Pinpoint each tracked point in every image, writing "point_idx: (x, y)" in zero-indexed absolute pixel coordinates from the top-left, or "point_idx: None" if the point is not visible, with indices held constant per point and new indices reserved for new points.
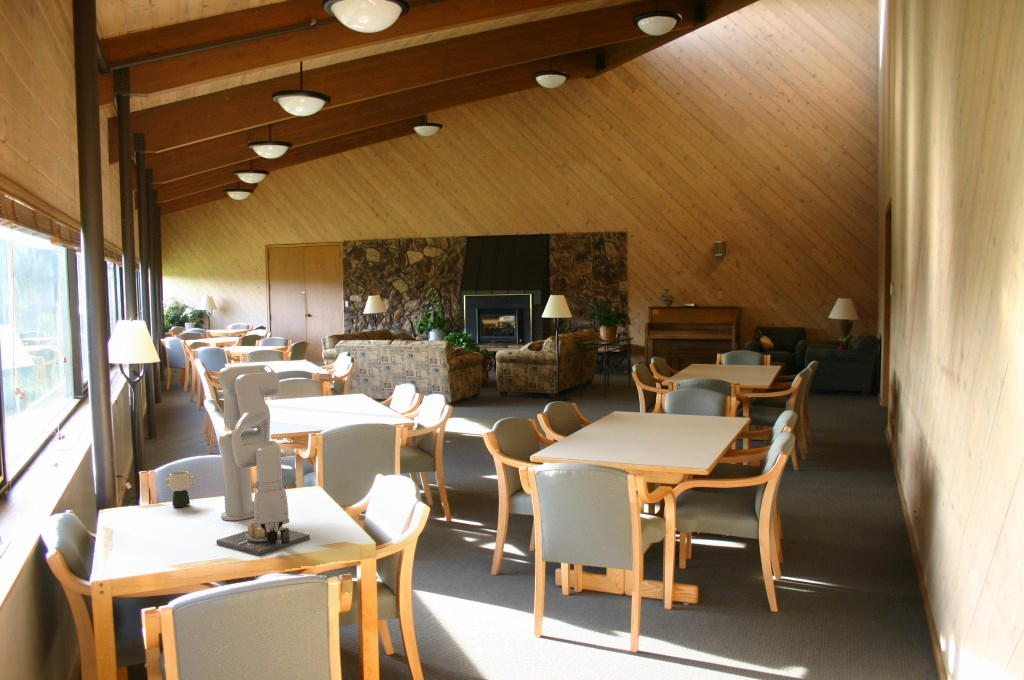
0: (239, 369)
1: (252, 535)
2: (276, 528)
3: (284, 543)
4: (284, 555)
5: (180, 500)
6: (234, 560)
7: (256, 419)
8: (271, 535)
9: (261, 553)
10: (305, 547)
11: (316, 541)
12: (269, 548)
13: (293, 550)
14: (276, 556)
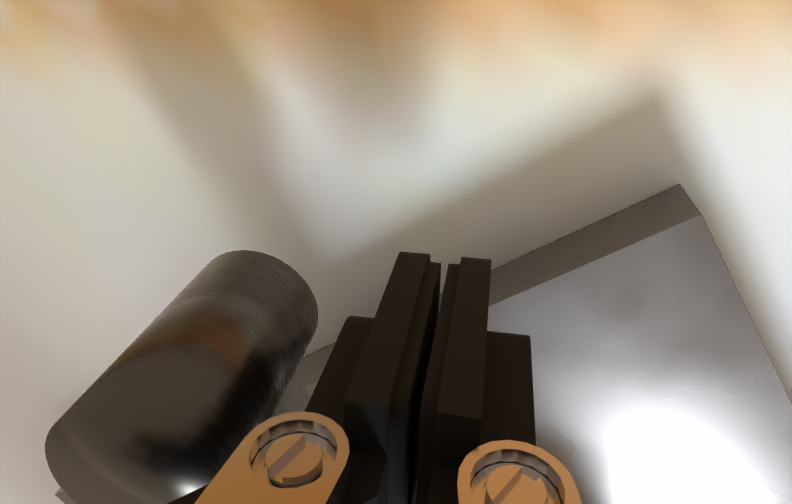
0: None
1: None
2: (274, 485)
3: (264, 256)
4: (313, 34)
5: None
6: None
7: None
8: (447, 357)
9: (633, 216)
10: (78, 247)
11: (8, 375)
12: (497, 296)
13: (203, 204)
14: (431, 39)
